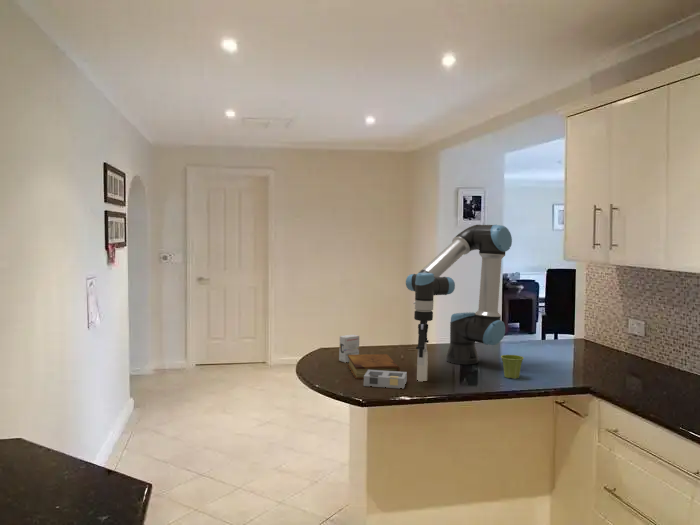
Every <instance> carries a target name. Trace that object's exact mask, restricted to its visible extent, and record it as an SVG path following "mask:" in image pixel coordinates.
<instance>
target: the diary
mask: <svg viewBox="0 0 700 525" xmlns="http://www.w3.org/2000/svg"><path fill="white" fill-rule="evenodd" d="M348 358H349V362H348V364H347V367H348V369H349V371H350V370H351V371H350V372H351V374H352V373H353V374H352V376H353V377H354V379H355V378H356V379H355V380H364V379H363V378H364V375H365V374H366V372H367V371H368V370H383V371H399V372H401V367H399V366H398V364H397V363H396V362H395V361H394V360H393V359H392V358H391V357H390V355H389V354H387V353H377V354H375V353H374V354H371V353H370V354H369V353H368V354H364V353H363V354H359V355H348Z"/></svg>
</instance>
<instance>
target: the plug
mask: <svg viewBox="0 0 700 525" xmlns="http://www.w3.org/2000/svg"><path fill="white" fill-rule="evenodd" d="M416 357H417V358H416V359H418V353H417V355H416ZM428 357H429V350H427V351H426V349H425V356H424V366H423V365H417V364H416V381H417V380H418V381H417V382H423V381H428V367H429V364H428V361H429V358H428Z"/></svg>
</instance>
